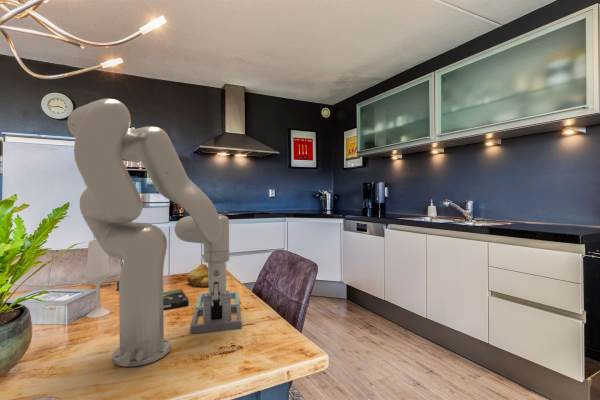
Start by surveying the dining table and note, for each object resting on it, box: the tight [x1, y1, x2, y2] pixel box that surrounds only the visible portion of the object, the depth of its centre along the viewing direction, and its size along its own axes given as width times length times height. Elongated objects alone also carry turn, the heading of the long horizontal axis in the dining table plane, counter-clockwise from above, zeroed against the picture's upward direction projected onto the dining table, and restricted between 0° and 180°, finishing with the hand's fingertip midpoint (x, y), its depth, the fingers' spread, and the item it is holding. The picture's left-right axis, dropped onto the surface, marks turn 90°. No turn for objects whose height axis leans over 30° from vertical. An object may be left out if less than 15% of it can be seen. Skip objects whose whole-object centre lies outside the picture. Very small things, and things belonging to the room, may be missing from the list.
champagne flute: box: [85, 239, 111, 319], centre depth 102 cm, size 7×7×24 cm
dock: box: [189, 291, 242, 334], centre depth 102 cm, size 29×14×2 cm, turn 13°
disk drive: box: [163, 289, 190, 311], centre depth 112 cm, size 10×3×15 cm
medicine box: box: [202, 289, 232, 324], centre depth 95 cm, size 8×4×9 cm, turn 111°
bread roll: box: [186, 263, 209, 288], centre depth 135 cm, size 13×10×8 cm
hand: (217, 315), depth 95 cm, fingers closed on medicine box, 4 cm apart
